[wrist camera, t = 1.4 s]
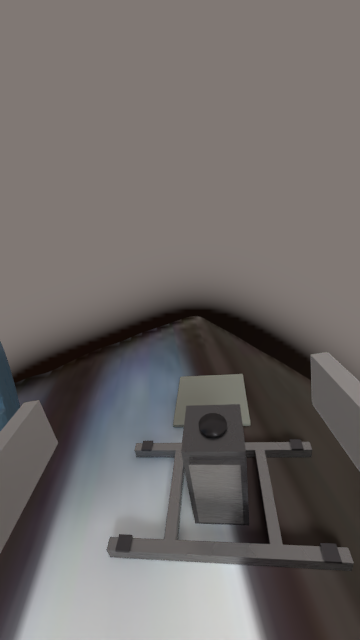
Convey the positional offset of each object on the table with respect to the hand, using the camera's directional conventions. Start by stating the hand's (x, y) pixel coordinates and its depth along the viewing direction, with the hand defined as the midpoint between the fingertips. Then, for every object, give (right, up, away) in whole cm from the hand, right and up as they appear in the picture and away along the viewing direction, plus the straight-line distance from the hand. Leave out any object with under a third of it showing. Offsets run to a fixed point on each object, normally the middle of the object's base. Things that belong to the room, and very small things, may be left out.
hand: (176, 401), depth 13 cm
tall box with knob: (+4, -14, +15) cm, 21 cm away
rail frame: (+4, -14, +15) cm, 21 cm away
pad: (+5, -8, +27) cm, 29 cm away
